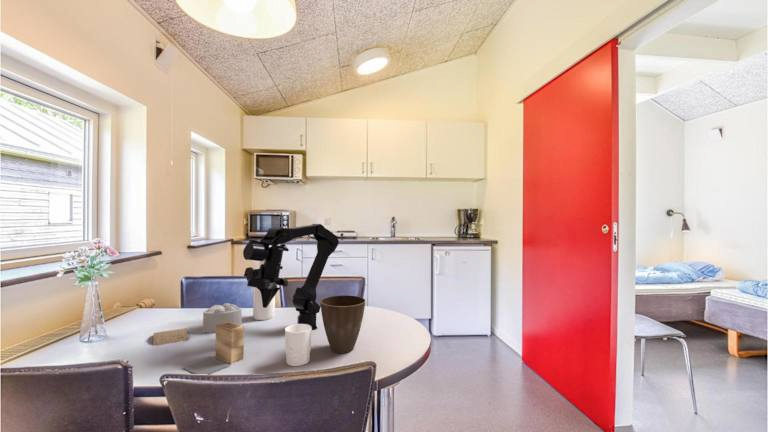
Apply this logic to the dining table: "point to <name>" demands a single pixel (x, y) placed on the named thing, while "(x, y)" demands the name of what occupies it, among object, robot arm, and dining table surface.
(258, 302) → the alcohol
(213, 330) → the lumpy-topped squat cylinder
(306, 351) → the white cup
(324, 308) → the plant pot
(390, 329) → the dining table surface
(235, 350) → the oak block
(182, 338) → the clay tablet
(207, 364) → the felt mat
